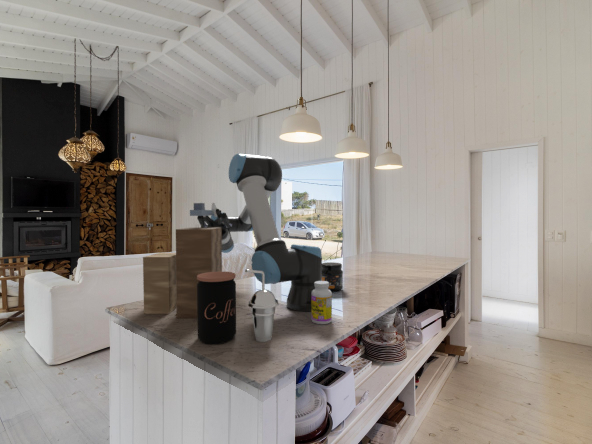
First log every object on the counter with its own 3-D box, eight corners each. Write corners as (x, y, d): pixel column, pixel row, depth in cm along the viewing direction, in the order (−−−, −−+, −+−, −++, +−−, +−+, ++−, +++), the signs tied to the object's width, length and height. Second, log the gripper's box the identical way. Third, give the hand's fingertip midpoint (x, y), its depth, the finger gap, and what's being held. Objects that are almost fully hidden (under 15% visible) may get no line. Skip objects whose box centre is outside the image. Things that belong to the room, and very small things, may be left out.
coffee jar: (201, 348, 84) (200, 280, 84) (194, 334, 94) (193, 273, 93) (241, 340, 89) (240, 276, 89) (230, 328, 99) (229, 270, 98)
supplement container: (315, 290, 147) (315, 264, 147) (327, 286, 156) (327, 261, 156) (336, 293, 141) (336, 266, 141) (346, 289, 150) (346, 263, 150)
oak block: (160, 302, 127) (159, 252, 127) (183, 303, 127) (182, 252, 127) (143, 313, 114) (143, 257, 113) (169, 313, 114) (168, 257, 113)
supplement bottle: (307, 321, 105) (307, 282, 105) (319, 316, 110) (319, 279, 110) (323, 326, 100) (323, 285, 100) (335, 321, 105) (335, 282, 105)
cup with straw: (279, 344, 87) (278, 270, 86) (245, 345, 86) (244, 270, 86) (278, 332, 95) (277, 265, 95) (247, 333, 95) (246, 265, 94)
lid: (206, 215, 131) (206, 204, 131) (216, 215, 131) (216, 204, 131) (189, 215, 111) (189, 202, 111) (201, 215, 111) (201, 202, 111)
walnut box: (190, 305, 123) (189, 227, 123) (222, 305, 123) (222, 227, 122) (176, 317, 109) (174, 229, 108) (212, 318, 109) (211, 229, 108)
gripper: (238, 240, 143) (227, 214, 122) (199, 240, 143) (182, 214, 122) (239, 225, 146) (229, 197, 126) (202, 225, 146) (186, 197, 126)
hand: (206, 205), depth 124 cm, fingers closed on lid, 4 cm apart
